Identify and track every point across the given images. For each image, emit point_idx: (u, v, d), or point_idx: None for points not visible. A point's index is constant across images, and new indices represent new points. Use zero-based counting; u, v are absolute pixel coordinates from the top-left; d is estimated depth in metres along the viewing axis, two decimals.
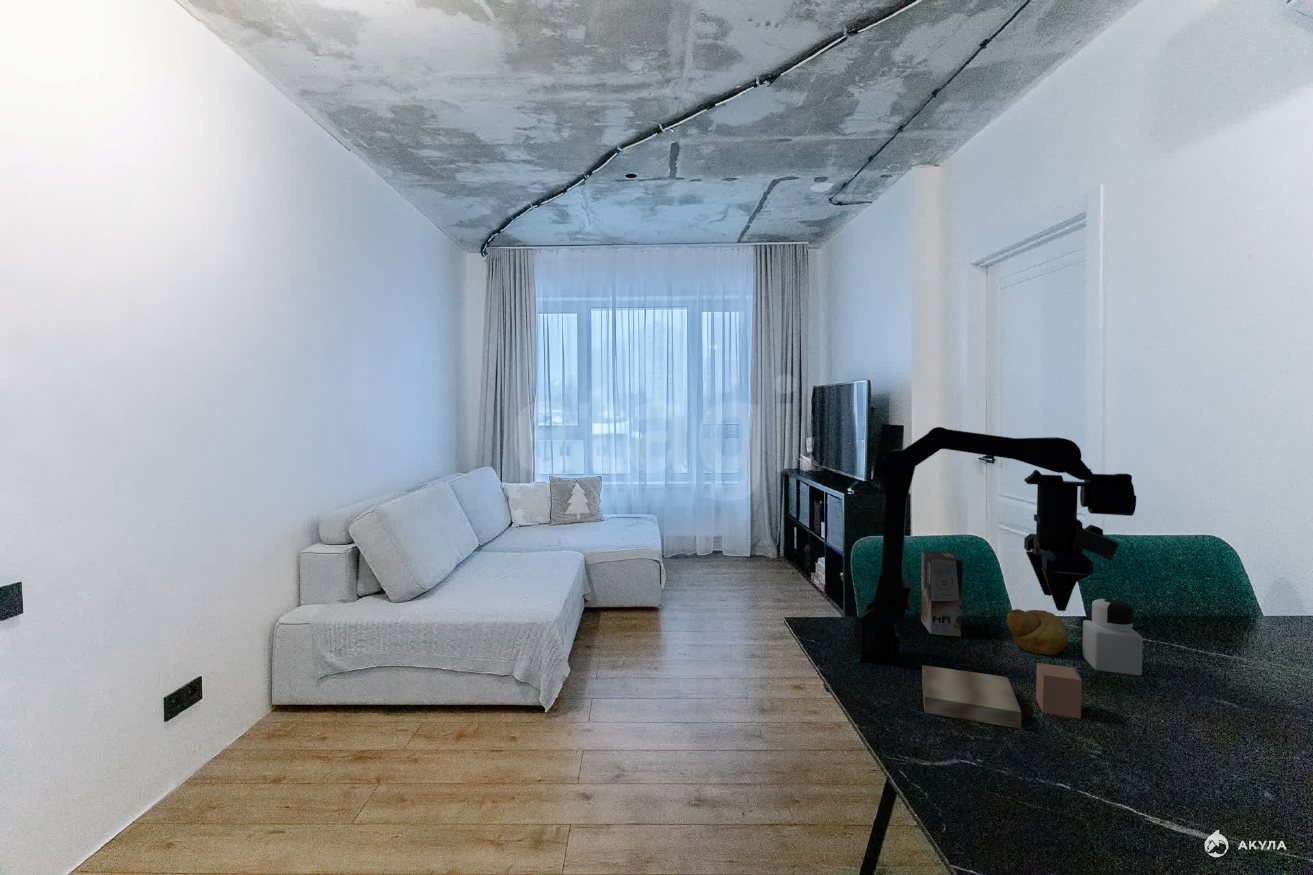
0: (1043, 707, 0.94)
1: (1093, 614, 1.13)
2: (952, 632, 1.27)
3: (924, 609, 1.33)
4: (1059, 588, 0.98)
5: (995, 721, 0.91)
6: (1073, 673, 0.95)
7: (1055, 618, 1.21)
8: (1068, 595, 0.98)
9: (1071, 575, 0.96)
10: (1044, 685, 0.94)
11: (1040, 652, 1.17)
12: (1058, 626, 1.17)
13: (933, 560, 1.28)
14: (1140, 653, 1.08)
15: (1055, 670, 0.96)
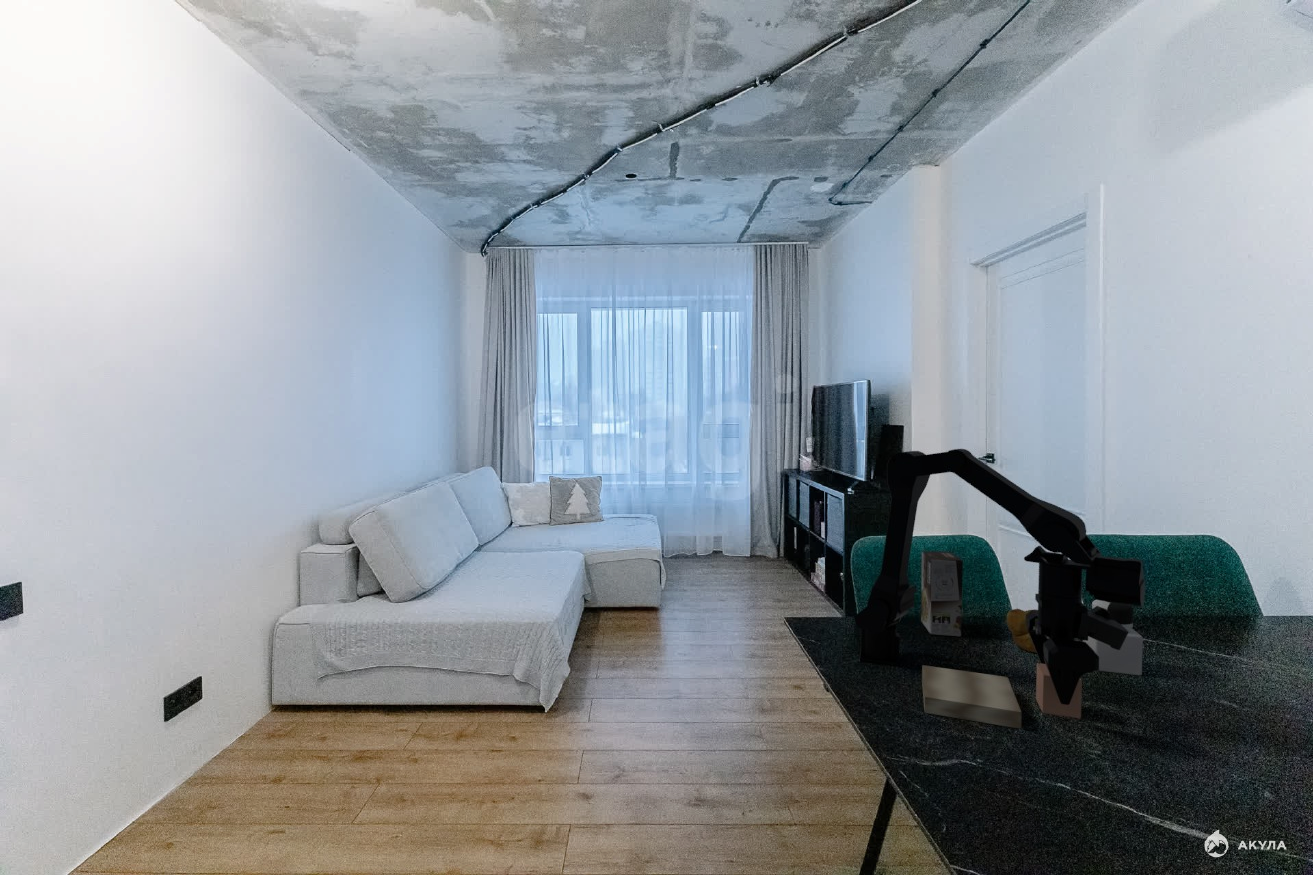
0: (1043, 707, 0.94)
1: None
2: (952, 632, 1.27)
3: (924, 609, 1.33)
4: (1063, 681, 0.90)
5: (995, 721, 0.91)
6: None
7: None
8: (1073, 688, 0.90)
9: (1075, 669, 0.88)
10: (1044, 685, 0.94)
11: None
12: None
13: (933, 560, 1.28)
14: (1140, 653, 1.08)
15: None
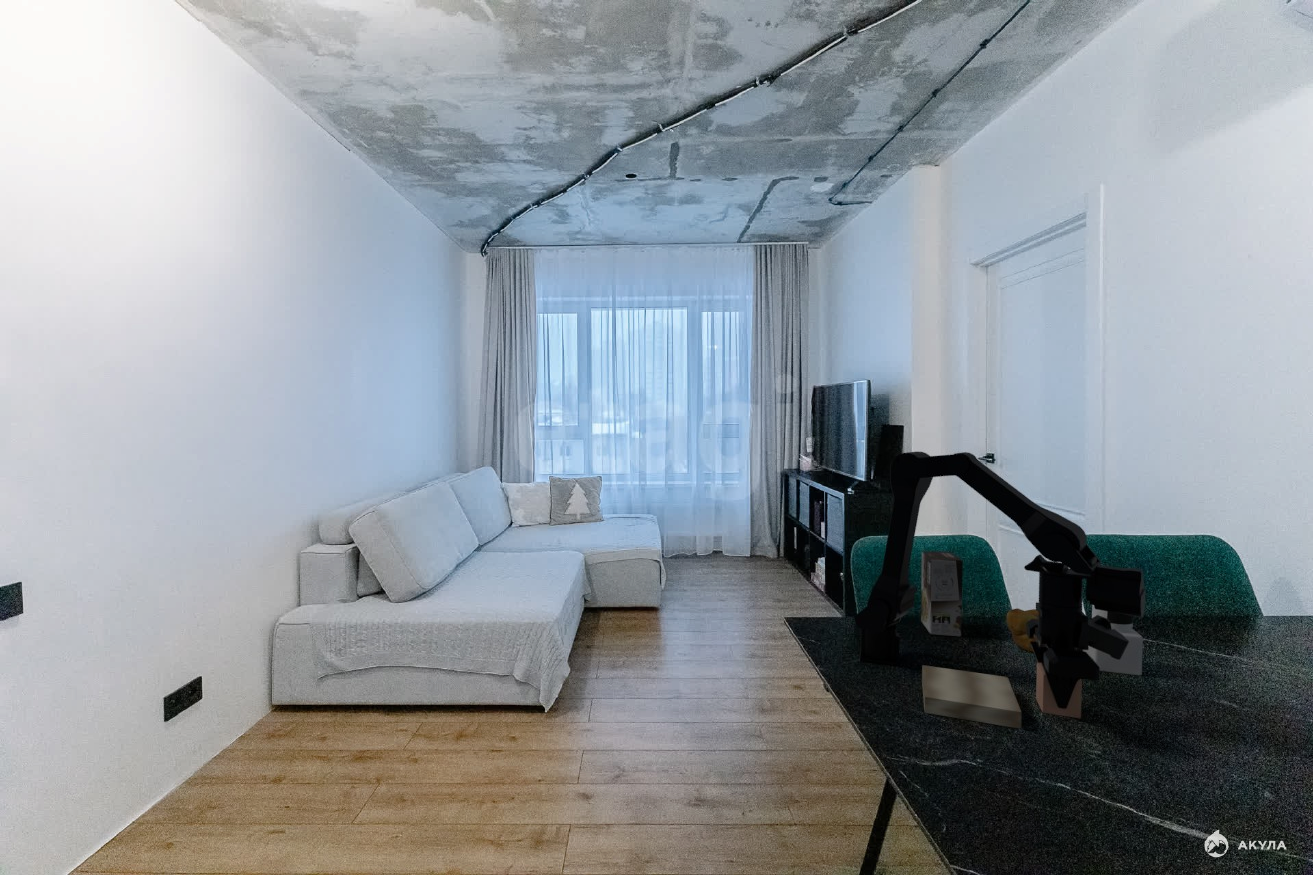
0: (1043, 707, 0.94)
1: (1093, 614, 1.13)
2: (952, 632, 1.27)
3: (924, 609, 1.33)
4: (1060, 685, 0.92)
5: (995, 721, 0.91)
6: None
7: None
8: (1070, 692, 0.92)
9: None
10: (1044, 685, 0.94)
11: None
12: None
13: (933, 560, 1.28)
14: (1140, 653, 1.08)
15: None
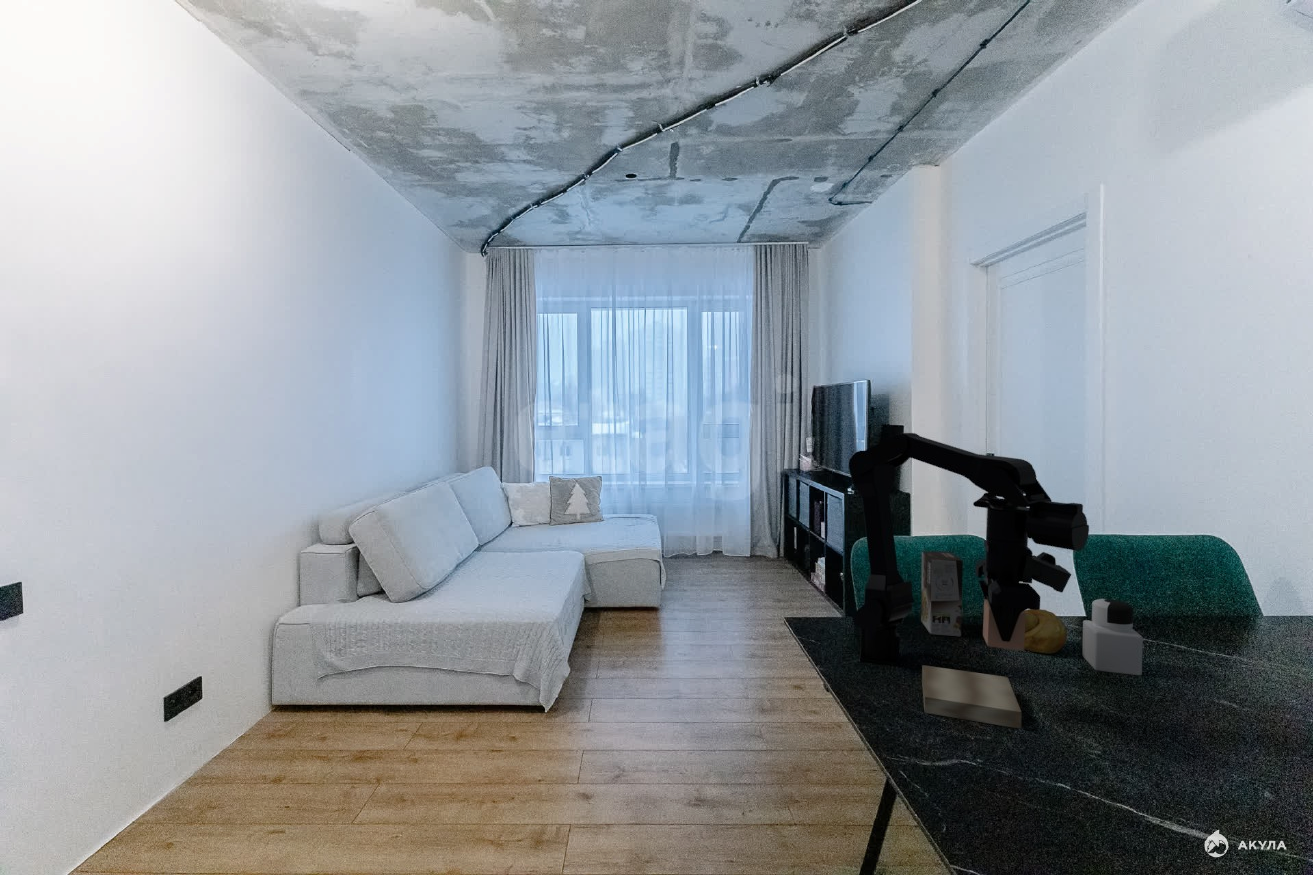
0: (988, 640, 0.96)
1: (1093, 614, 1.13)
2: (952, 632, 1.27)
3: (924, 609, 1.33)
4: (1004, 618, 0.93)
5: (995, 721, 0.91)
6: None
7: (1054, 617, 1.21)
8: (1013, 625, 0.93)
9: None
10: (989, 619, 0.95)
11: (1038, 651, 1.18)
12: (1056, 625, 1.18)
13: (933, 560, 1.28)
14: (1140, 653, 1.08)
15: None
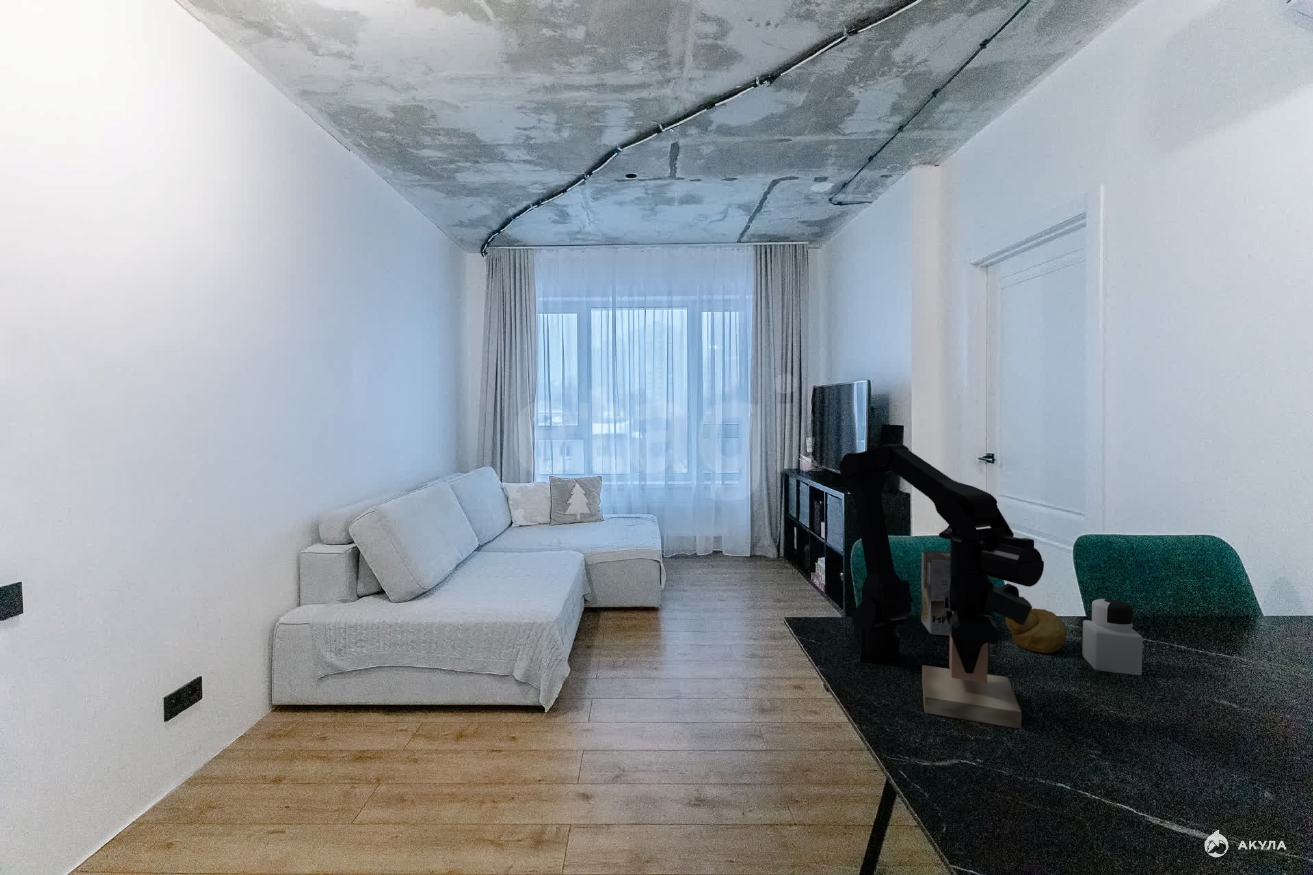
0: (952, 672, 0.96)
1: (1093, 614, 1.13)
2: None
3: (924, 609, 1.33)
4: (966, 651, 0.94)
5: (995, 721, 0.91)
6: None
7: (1054, 617, 1.21)
8: (975, 657, 0.94)
9: None
10: (953, 650, 0.96)
11: (1038, 650, 1.18)
12: (1056, 625, 1.18)
13: (933, 560, 1.28)
14: (1140, 653, 1.08)
15: None
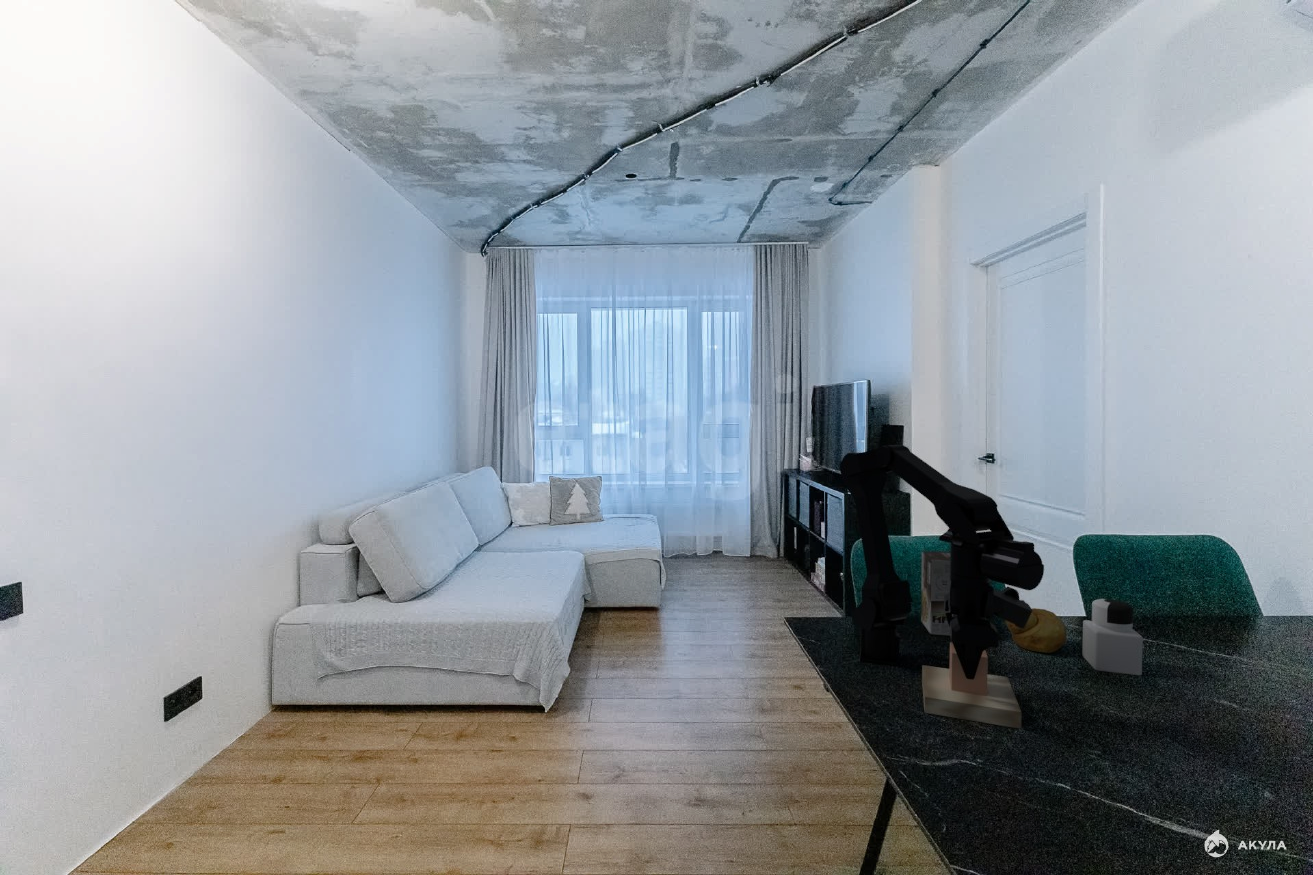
0: (952, 684, 0.96)
1: (1093, 614, 1.13)
2: None
3: (924, 609, 1.33)
4: (967, 656, 0.93)
5: (995, 721, 0.91)
6: None
7: (1054, 617, 1.21)
8: (976, 663, 0.93)
9: None
10: (953, 663, 0.96)
11: (1037, 650, 1.18)
12: (1056, 624, 1.18)
13: (933, 560, 1.28)
14: (1140, 653, 1.08)
15: None
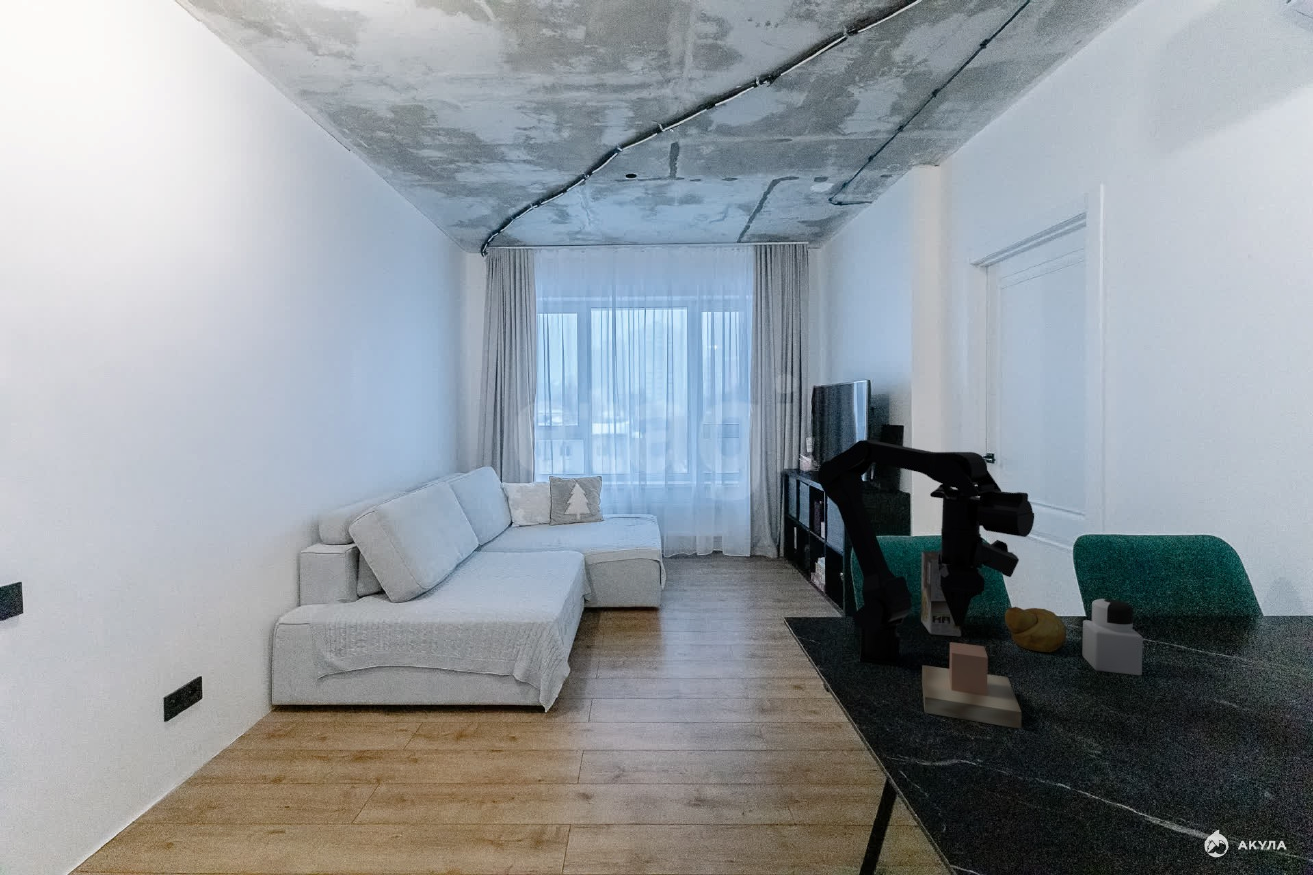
0: (952, 684, 0.96)
1: (1093, 614, 1.13)
2: (952, 632, 1.27)
3: (924, 609, 1.33)
4: (956, 604, 0.98)
5: (995, 721, 0.91)
6: (982, 651, 0.97)
7: (1053, 617, 1.22)
8: (965, 611, 0.98)
9: (964, 591, 0.96)
10: (953, 663, 0.96)
11: (1037, 649, 1.18)
12: (1055, 624, 1.18)
13: (933, 560, 1.28)
14: (1140, 653, 1.08)
15: (965, 649, 0.98)
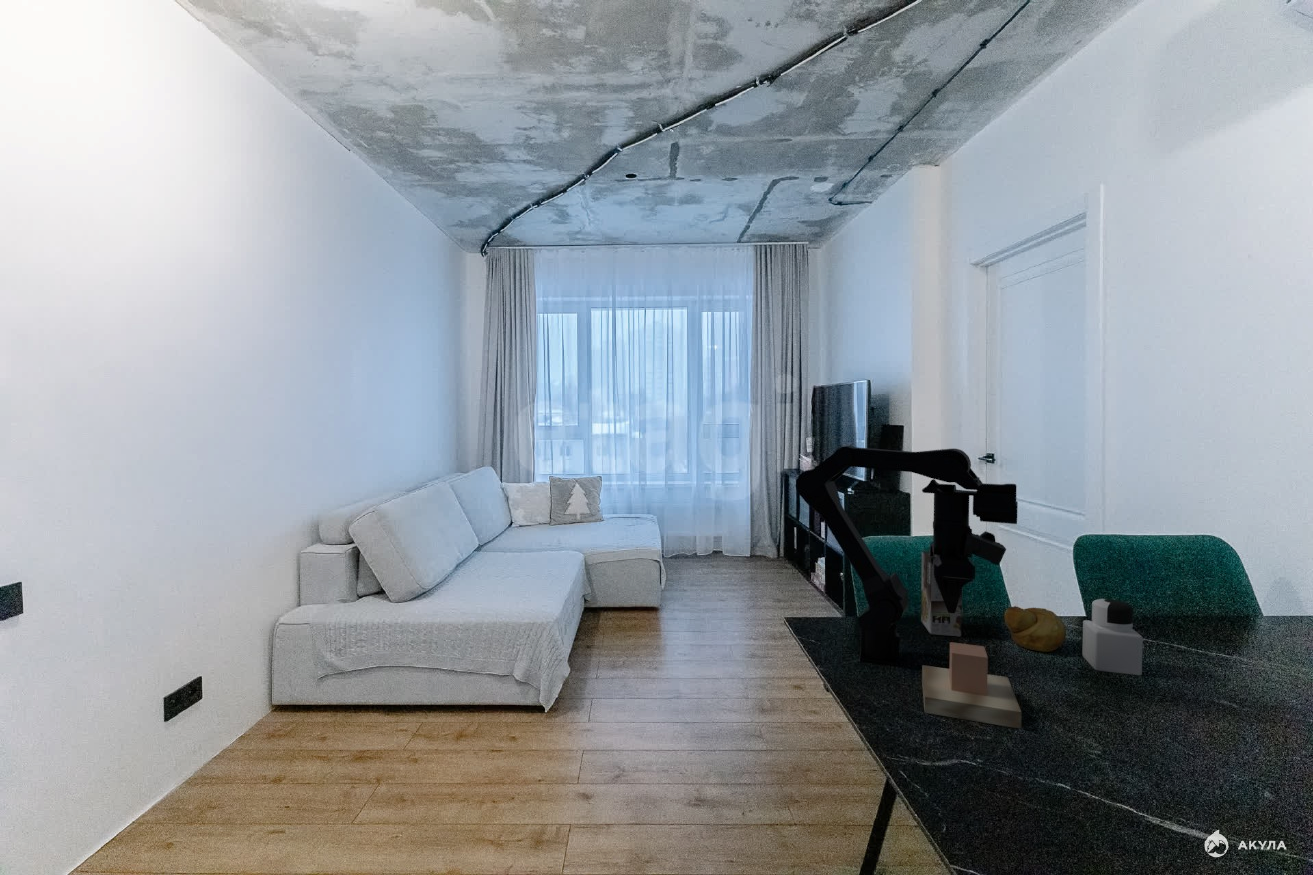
0: (952, 684, 0.96)
1: (1093, 614, 1.13)
2: (952, 632, 1.27)
3: (924, 609, 1.33)
4: (949, 592, 1.04)
5: (995, 721, 0.91)
6: (982, 651, 0.97)
7: (1053, 616, 1.22)
8: (957, 598, 1.04)
9: (957, 579, 1.01)
10: (953, 663, 0.96)
11: (1036, 649, 1.19)
12: (1055, 623, 1.19)
13: None
14: (1140, 653, 1.08)
15: (965, 649, 0.98)
